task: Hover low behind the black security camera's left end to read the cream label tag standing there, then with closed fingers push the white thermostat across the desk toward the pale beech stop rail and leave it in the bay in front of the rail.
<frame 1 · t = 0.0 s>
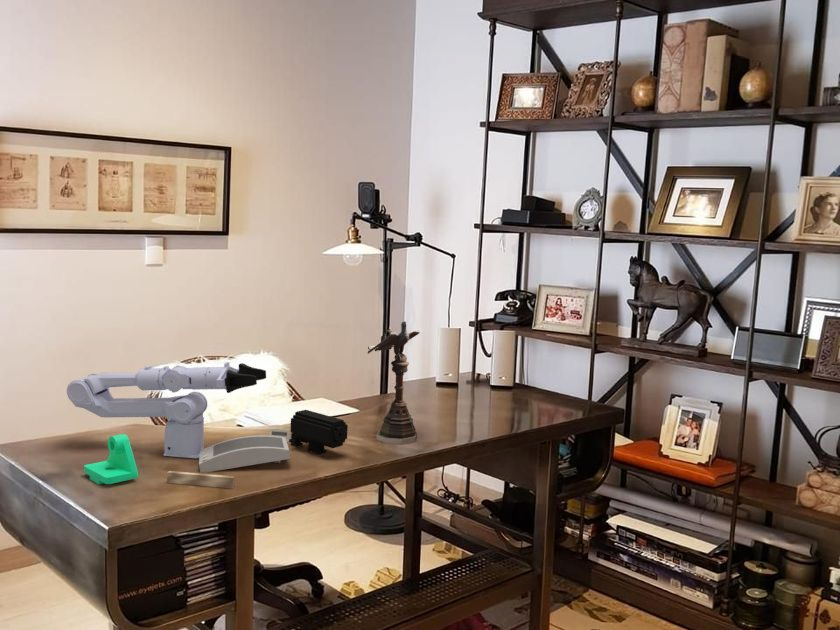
hand: (261, 377, 215), 22 cm above the table, tool horizontal, fingers open, 7 cm apart
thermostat: (244, 465, 215), on the table
label tag: (279, 441, 235), on the table
camera mount: (110, 480, 199), on the table
bird statue: (389, 437, 244), on the table
security camera: (315, 451, 228), on the table
stop rail: (200, 484, 198), on the table
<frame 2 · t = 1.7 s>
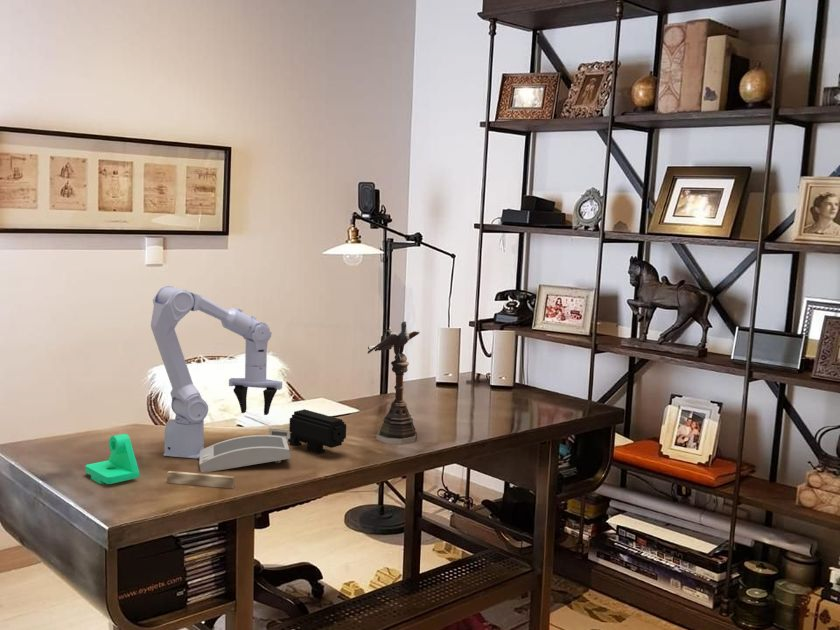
hand: (255, 413, 232), 8 cm above the table, tool pointing down, fingers open, 6 cm apart
nothing on the table moved.
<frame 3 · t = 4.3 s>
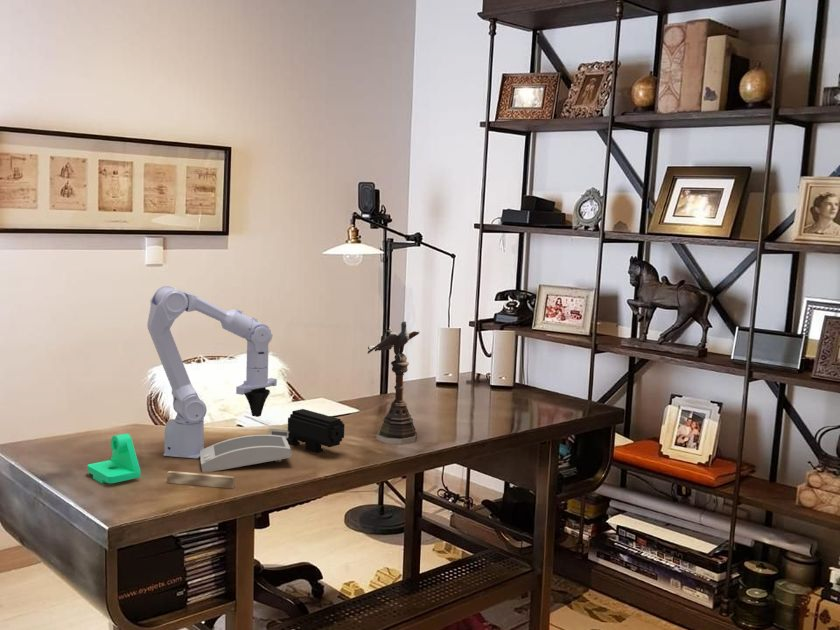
hand: (256, 415, 229), 8 cm above the table, tool pointing down, fingers closed
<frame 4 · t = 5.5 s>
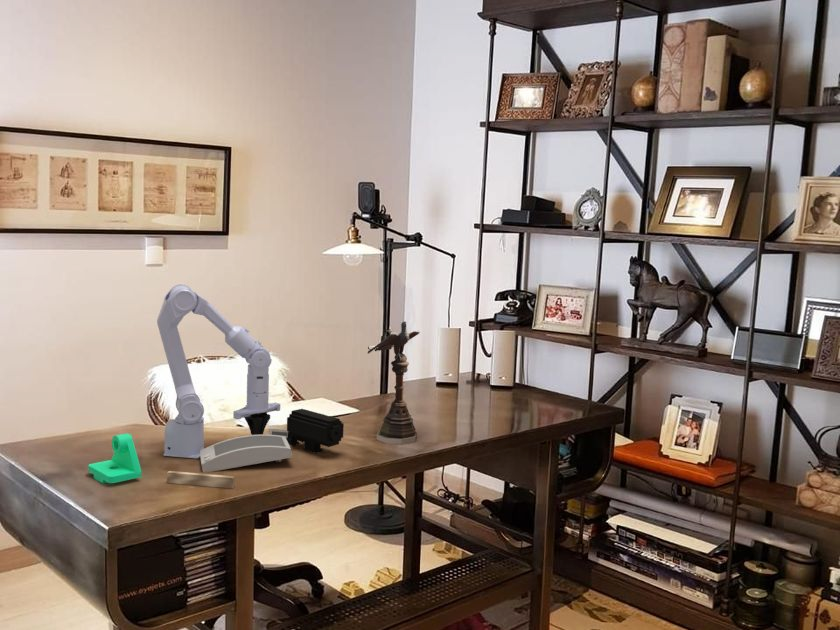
hand: (256, 440, 227), 2 cm above the table, tool pointing down, fingers closed
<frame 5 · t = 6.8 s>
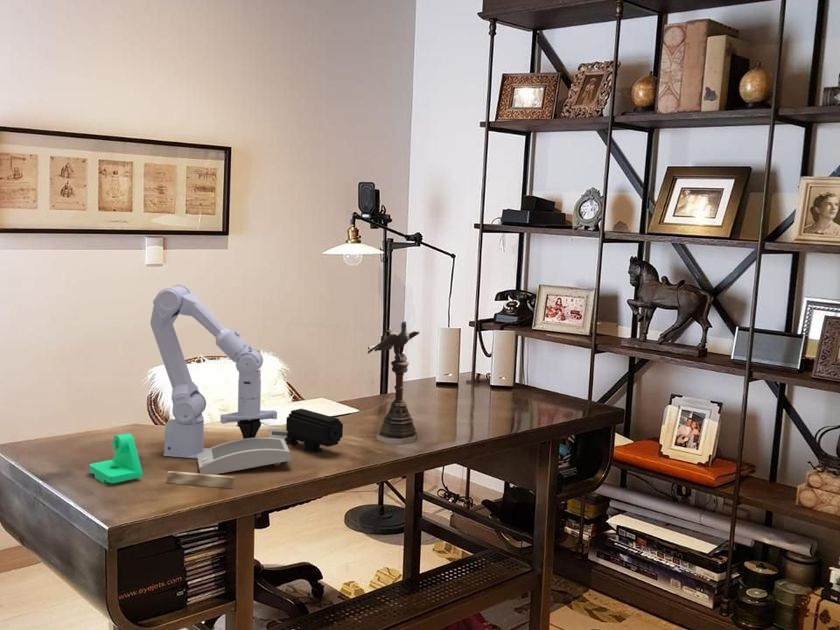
hand: (248, 447, 220), 2 cm above the table, tool pointing down, fingers closed
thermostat: (243, 468, 212), on the table, touching gripper
security camera: (310, 450, 229), on the table, touching label tag
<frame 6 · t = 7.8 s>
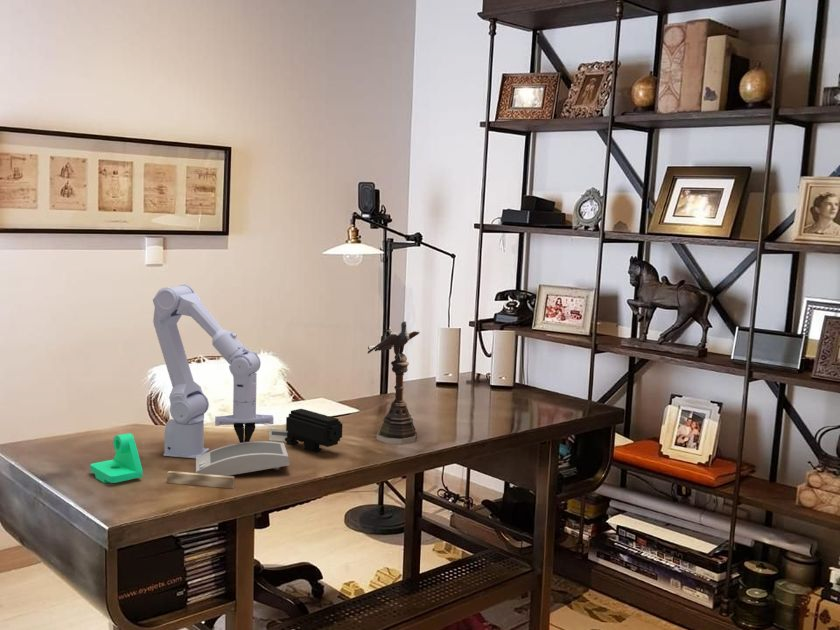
hand: (243, 451, 216), 2 cm above the table, tool pointing down, fingers closed
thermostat: (242, 472, 209), on the table
security camera: (310, 450, 229), on the table
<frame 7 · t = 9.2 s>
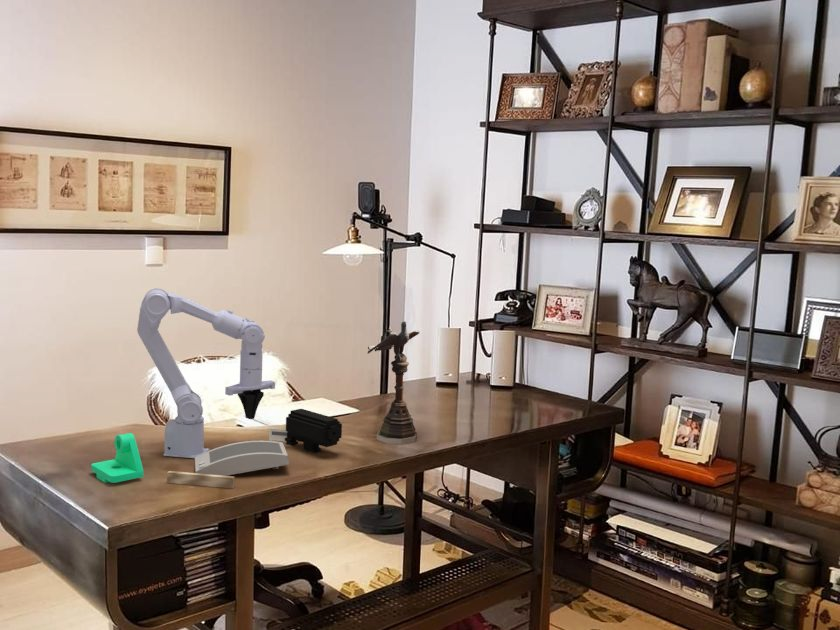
hand: (250, 418, 224), 9 cm above the table, tool pointing down, fingers closed
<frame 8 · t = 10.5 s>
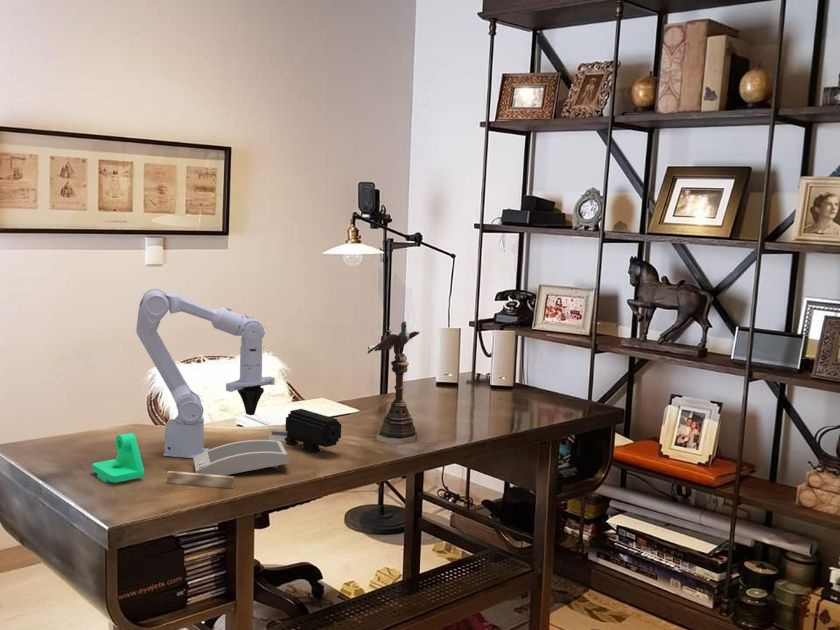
hand: (250, 414, 224), 10 cm above the table, tool pointing down, fingers closed
security camera: (309, 450, 228), on the table, touching label tag
at the end: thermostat inside the target area (3.8 cm from its centre), on the table; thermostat moved 4.7 cm from its start; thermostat tilted 0° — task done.
